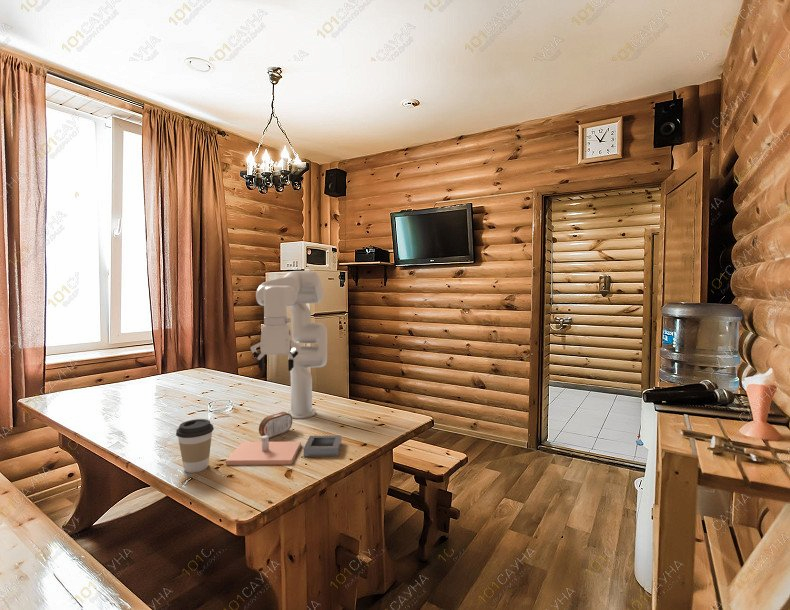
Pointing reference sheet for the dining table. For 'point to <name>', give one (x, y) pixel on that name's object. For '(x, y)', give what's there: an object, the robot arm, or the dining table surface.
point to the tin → (275, 424)
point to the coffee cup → (195, 444)
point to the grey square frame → (322, 450)
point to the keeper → (264, 453)
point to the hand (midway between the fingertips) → (276, 370)
